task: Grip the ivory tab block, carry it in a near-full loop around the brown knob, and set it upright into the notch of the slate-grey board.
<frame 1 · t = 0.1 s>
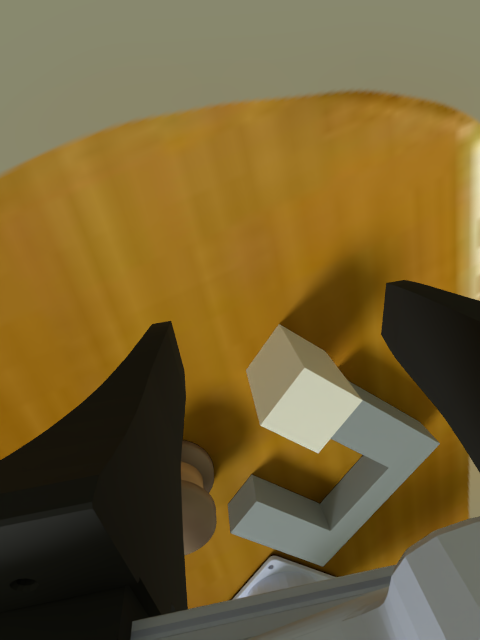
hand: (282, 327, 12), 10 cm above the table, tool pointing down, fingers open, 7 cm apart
tab block: (285, 360, 24), on the table
brown knob: (173, 471, 26), on the table
notched board: (322, 463, 28), on the table
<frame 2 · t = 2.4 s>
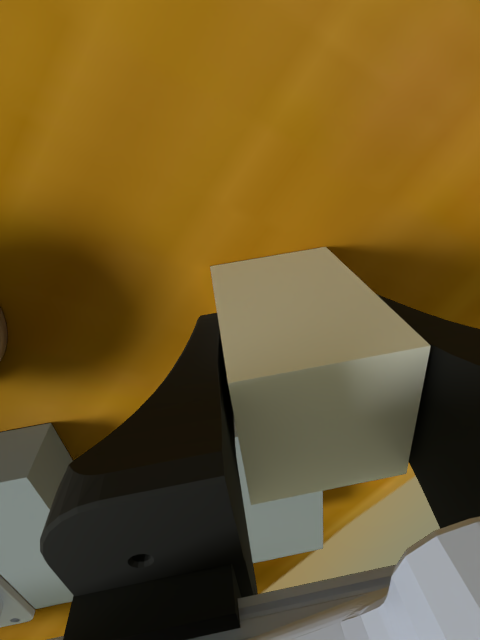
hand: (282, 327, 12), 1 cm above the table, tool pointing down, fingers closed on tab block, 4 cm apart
tab block: (272, 307, 13), on the table, touching gripper
notched board: (162, 474, 17), on the table
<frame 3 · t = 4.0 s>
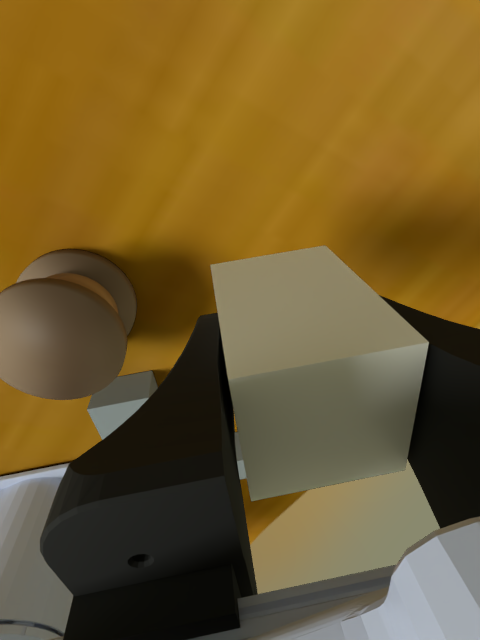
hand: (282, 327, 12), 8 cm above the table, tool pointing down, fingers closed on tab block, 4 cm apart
tab block: (272, 306, 13), point 7 cm above the table, touching gripper
brown knob: (80, 301, 19), on the table
notched board: (218, 410, 25), on the table
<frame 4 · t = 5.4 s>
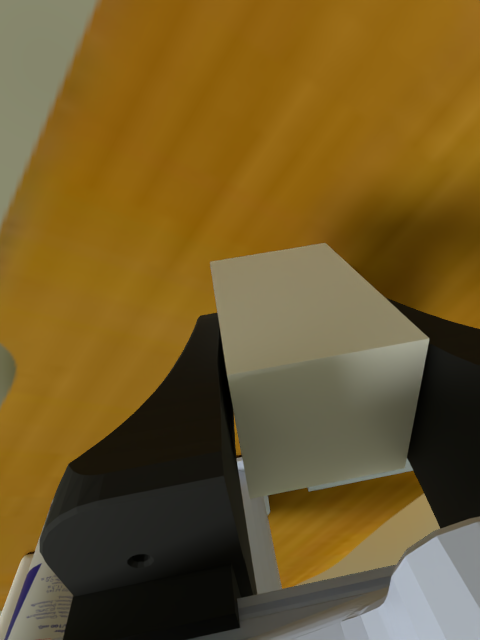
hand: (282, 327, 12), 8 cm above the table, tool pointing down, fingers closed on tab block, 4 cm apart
tab block: (272, 303, 13), point 7 cm above the table, touching gripper
energy drink: (90, 498, 28), on the table
notched board: (386, 408, 27), on the table
eye dropper bottle: (44, 564, 32), on the table
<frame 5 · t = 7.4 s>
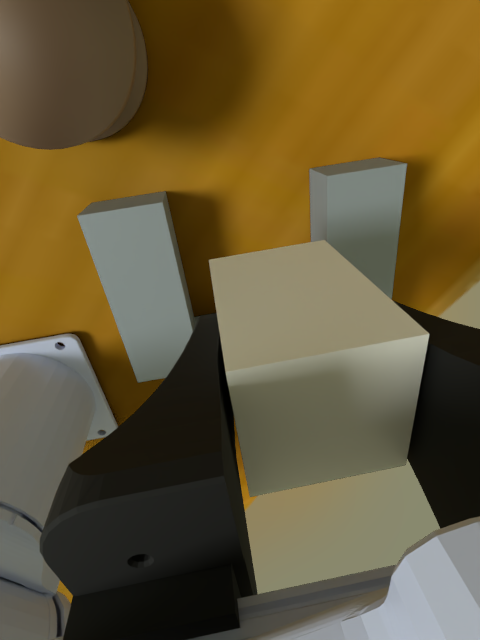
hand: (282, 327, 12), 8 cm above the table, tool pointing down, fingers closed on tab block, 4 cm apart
tab block: (271, 301, 13), point 7 cm above the table, touching gripper
brown knob: (68, 54, 14), on the table
notched board: (248, 266, 19), on the table
when the fingers open (3 cm above the table, at t = 8.8 s): tab block drops 2 cm, on the table.
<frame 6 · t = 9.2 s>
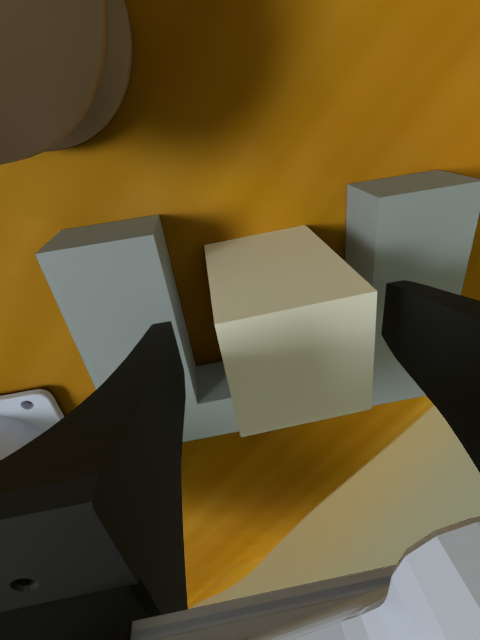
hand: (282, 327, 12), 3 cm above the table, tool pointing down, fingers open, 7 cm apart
tab block: (261, 281, 15), on the table
brown knob: (20, 28, 10), on the table
notched board: (265, 306, 15), on the table
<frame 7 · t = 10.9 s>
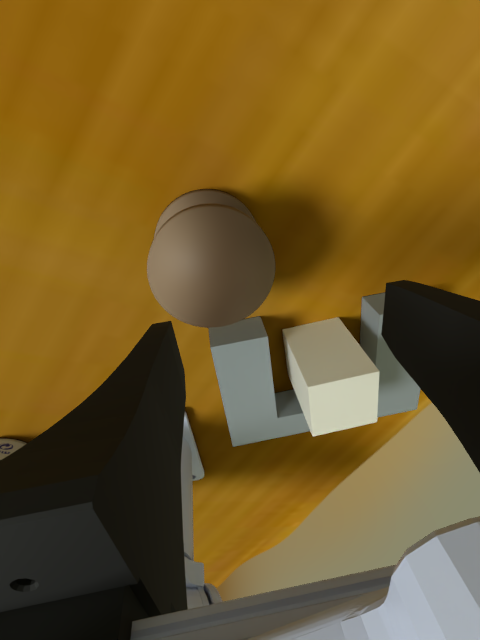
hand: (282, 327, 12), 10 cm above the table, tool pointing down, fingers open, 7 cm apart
tab block: (312, 346, 25), on the table
energy drink: (11, 458, 27), on the table
brown knob: (207, 243, 20), on the table
notched board: (313, 359, 26), on the table
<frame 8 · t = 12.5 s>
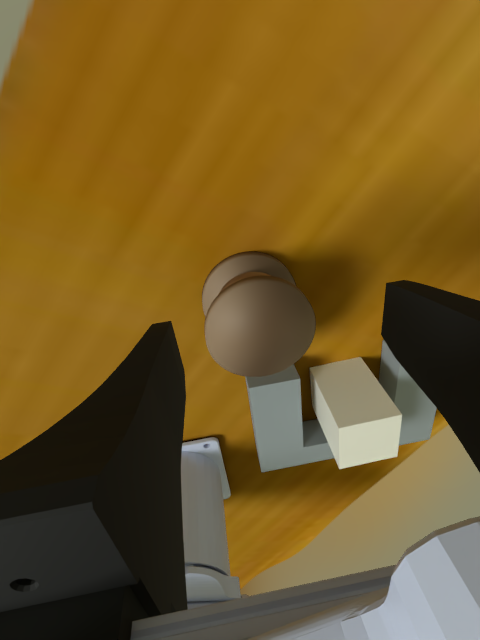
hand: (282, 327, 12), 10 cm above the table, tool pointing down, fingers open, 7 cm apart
tab block: (335, 382, 27), on the table
brown knob: (248, 296, 23), on the table
notched board: (336, 393, 28), on the table
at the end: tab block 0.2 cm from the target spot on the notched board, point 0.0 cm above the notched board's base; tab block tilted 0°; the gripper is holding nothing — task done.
